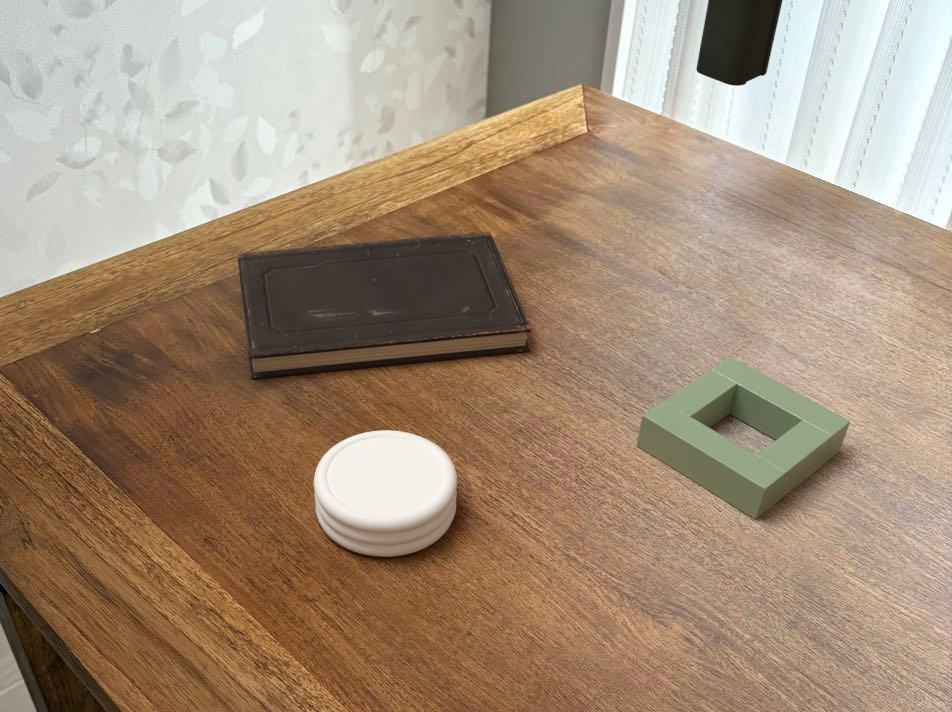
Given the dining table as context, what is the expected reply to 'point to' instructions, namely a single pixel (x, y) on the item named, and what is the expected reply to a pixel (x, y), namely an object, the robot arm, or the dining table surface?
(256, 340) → the hardcover book
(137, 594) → the dining table surface
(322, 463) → the white stacked coasters
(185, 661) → the dining table surface
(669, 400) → the pad
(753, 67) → the black and white post
